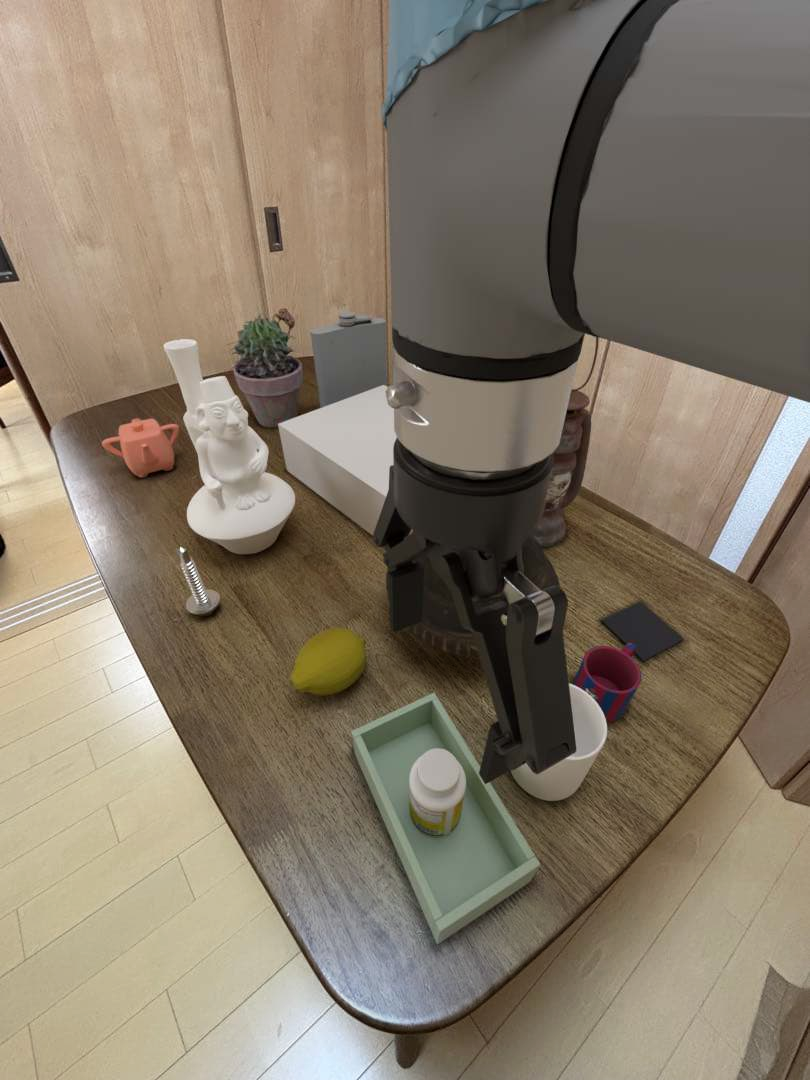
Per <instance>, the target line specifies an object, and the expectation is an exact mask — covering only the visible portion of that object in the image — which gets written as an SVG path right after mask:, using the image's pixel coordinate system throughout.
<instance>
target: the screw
mask: <svg viewBox="0 0 810 1080" xmlns="http://www.w3.org/2000/svg"><path fill="white" fill-rule="evenodd" d="M175 551H176V553H177V556H178V559H179V561H180V563H179V565H180V569H181V571H182V573H183V575H184V578H185V581H186V582H187V584H188V587H189V590H190V592H191V595H190V596H189V597H188V598H187V600H186V603H185V608H186V611H187V612H188V613H190V614H191V615H194V616H200V617H201V618H204V617H209V616H212V615H213V613H214V612H215V611H216V610H217V607H218V606H219V605H220V603H221V596H220V594H219V593H218V592H217V591H216V590H213V589H210V588H209V589H206V587H205V585H204V582H203V580H202V578H201V575H200V573H199V570H198V567H197V566H196V563H195V561H194V560H193V558H192V557H191V556H190V554H189V551H188V549H187V548H186V547H185V548H184V547H183V546H179V547H178V548H177V549H176V550H175Z"/></svg>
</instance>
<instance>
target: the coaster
mask: <svg viewBox="0 0 810 1080" xmlns="http://www.w3.org/2000/svg"><path fill="white" fill-rule="evenodd" d="M600 623H602V624H603V625H604V626H605V627H606V628H607V629H608V630H609V631H610V632H611V633H612V634H613V635H614V636H615V637H616V638H617V639H618V640H619V641H620V642H621V643H622V644H623V645H624V646H625V645H626V644H627V643H629V642H630V643H632V644H634V645H635V646H636V649H635V652H634V653H633V655H635V656H636V657H637V658H638V659H639V660H640V661H641V662H642V663H644V662H646V661H648V660H649V659H651V658H653V657H655V656H657V655H659V654H660V653H663V652H664V651H667V650H668V649H671V648H672V647H674V646H676V645H678V644H680V643H681V642H684V640H685V638H684V637H682V636H681V635H680V634H679V633H678V632H677V631H675V630H674V629H673V628H672V627H671V626H670V625H668V624H667V623H666V622H665V621H664V620H662V618H660V617H659V615H657V614H656V613H654V612H653V611H652V610H651V609H650V608H649V607H648V606H646V604H644V603H643V602H642V601H638V602H637V603H635V604H632V605H630V606H628V607H626V608H623V609H622V610H619V611H617V612H615V613H613V614H611V615H609V616H607V617H605V618H603V619H601V620H600Z"/></svg>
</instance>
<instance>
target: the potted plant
mask: <svg viewBox="0 0 810 1080" xmlns="http://www.w3.org/2000/svg"><path fill="white" fill-rule="evenodd" d="M253 317H254V320H249V321H245V323H243V326H242V327H243V329H241V330H238V331H237V336H238V338H239V339H238V340H237V341H234V342H231V343H228V344H227V346H229V345H232V344H235V343H236V344H235V345H234V347H232V348H231V349H229V350H228V351H227V352H225V354H226V353H229V352H231V351H233V350H235V351H234V352H232V353H231V355H234V354H236V355H239V356H240V358H239V359H238V360H235V362H234V366H232V367H231V368H230V371H232V370H233V374H234V379H235V381H236V384H237V386H238V387H237V388H238V389H239V390H240V391H241V392H242V393H244V397H245V398H246V400H247V402H248V405H249V406H250V408H251V411H252V413H253V415H254V417H255V419H256V421H257V422H258V424H259V425H261V426H262V427H265V428H270V429H271V428H272V429H273V428H279V427H278V424H279V423H282V422H284V421H287V420H290V419H293V418H295V417H298V416H299V406H300V395H301V394H300V393H301V386H302V385H303V384H304V375H303V374H304V370H303V363H302V362H301V360H299V358H297V357H295V356H293V355H289V354H290V353H295V352H296V351H297V350H295V349H294V350H293V349H292V348H291V347H292V345H293V344H291V345H290V346H289V345H288V342H289V339H290V338H292V339H296V340H298V338H296V337H294V336H292V335H290V334H291V330H292V329H293V328H295V325H296V324H295V323H296V320H295V318H294V316H292V315H291V313H290V312H289V311H288V308H280V309H278V311H277V313H274V315H273V317H272V319H271V320H269V318H268V317H267V318H266V317H265V318H262V313H261V312H260V313H259V314H258V316H257V317H258V318H257V317H255V316H253ZM275 318H277V319H278V321H277V320H275ZM281 321H283V323H285V324H286V325H287V327H288V332H285V331H282V327H281V325H280V322H281ZM246 323H247V324H246ZM300 352H302V351H300ZM224 357H227V355H226V356H224ZM227 371H228V372H229V369H228V370H225V372H227Z"/></svg>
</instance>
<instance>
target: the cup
mask: <svg viewBox="0 0 810 1080" xmlns="http://www.w3.org/2000/svg"><path fill="white" fill-rule="evenodd" d="M635 649H636V646H635V645H634V644H632V643H630V642H629V643H627V644H626V645H625V644H624V646H623V647H622V649H619V648H617V647H613V646H609V645H598V646H593V647H592V648H589V649H588V650H587V651H586V652H585V653H584V655H583V657H582V661H581V663H580V664H579V668H578V670H577V672H576V675H575V677H574V680H573V682H572V683H571V684H572V685H575V686H577V687H579V688H581V689H582V690H584V691H585V692H586V693H588V694H589V695H590V696H591V697H592V698H593V699H594V700H595V701H596V702H597V703H598V705H599V706H600V708H601V710H602V711H603V713H604V716H605V719H606V723H607V724H608V723H613V722H615V721H617V720H619V719H620V718H621V717H622V716H623V714H624V713H625V711H626V709H627V708H628V706H629V704H630V702H631V700H632V699H633V697H634V695H635V693H636V692H637V690H638V689H639V686H640V685H641V684H642V683H641V682H642V671H641V668H640V666H639V665H638V663H637V662H636V661H635V660H634V658H633V655H634V652H635Z"/></svg>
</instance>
